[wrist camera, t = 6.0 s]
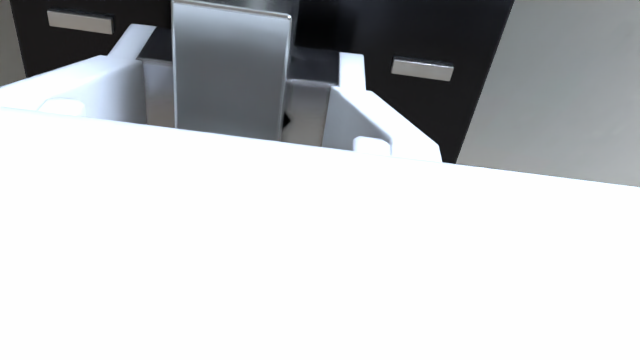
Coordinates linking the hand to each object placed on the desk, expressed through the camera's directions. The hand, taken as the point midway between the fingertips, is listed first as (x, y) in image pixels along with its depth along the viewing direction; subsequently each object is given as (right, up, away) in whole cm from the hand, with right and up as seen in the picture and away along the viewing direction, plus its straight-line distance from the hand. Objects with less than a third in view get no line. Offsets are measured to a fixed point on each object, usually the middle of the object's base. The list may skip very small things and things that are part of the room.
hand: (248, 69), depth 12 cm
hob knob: (0, +1, +1) cm, 1 cm away
